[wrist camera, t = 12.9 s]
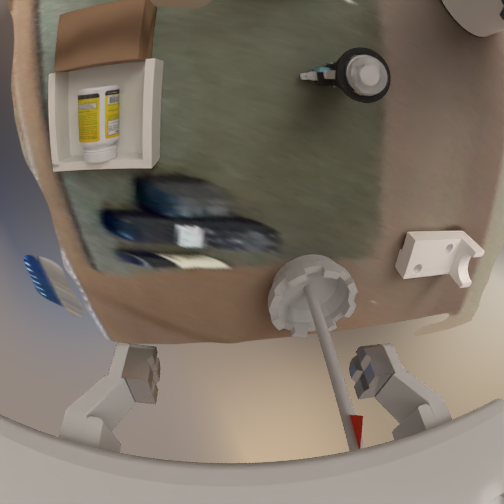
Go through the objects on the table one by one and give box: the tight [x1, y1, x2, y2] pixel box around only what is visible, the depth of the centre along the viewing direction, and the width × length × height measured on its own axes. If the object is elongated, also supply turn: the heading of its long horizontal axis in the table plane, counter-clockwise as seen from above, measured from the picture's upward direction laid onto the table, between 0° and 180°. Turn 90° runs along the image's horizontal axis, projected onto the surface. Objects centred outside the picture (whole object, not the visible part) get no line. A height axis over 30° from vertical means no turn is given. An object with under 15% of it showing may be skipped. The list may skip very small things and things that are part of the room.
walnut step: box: [54, 0, 157, 72], centre depth 21 cm, size 7×10×5 cm
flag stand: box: [268, 254, 365, 451], centre depth 32 cm, size 13×13×30 cm
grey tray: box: [48, 58, 164, 172], centre depth 27 cm, size 12×13×4 cm
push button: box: [300, 48, 390, 103], centre depth 24 cm, size 7×5×10 cm
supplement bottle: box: [78, 85, 119, 163], centre depth 26 cm, size 5×5×8 cm
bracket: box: [395, 231, 485, 288], centre depth 40 cm, size 13×7×8 cm, turn 91°
